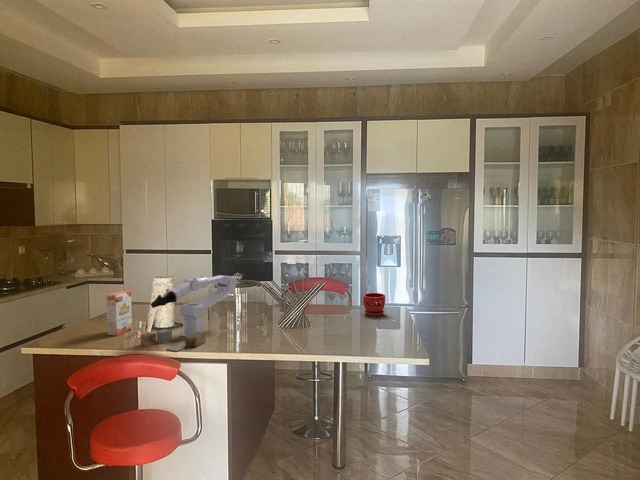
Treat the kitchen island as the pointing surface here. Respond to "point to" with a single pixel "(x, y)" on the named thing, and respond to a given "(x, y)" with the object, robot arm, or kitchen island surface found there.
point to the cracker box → (118, 312)
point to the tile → (176, 348)
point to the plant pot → (374, 303)
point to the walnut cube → (148, 339)
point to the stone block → (195, 339)
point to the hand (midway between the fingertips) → (156, 304)
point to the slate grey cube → (164, 335)
